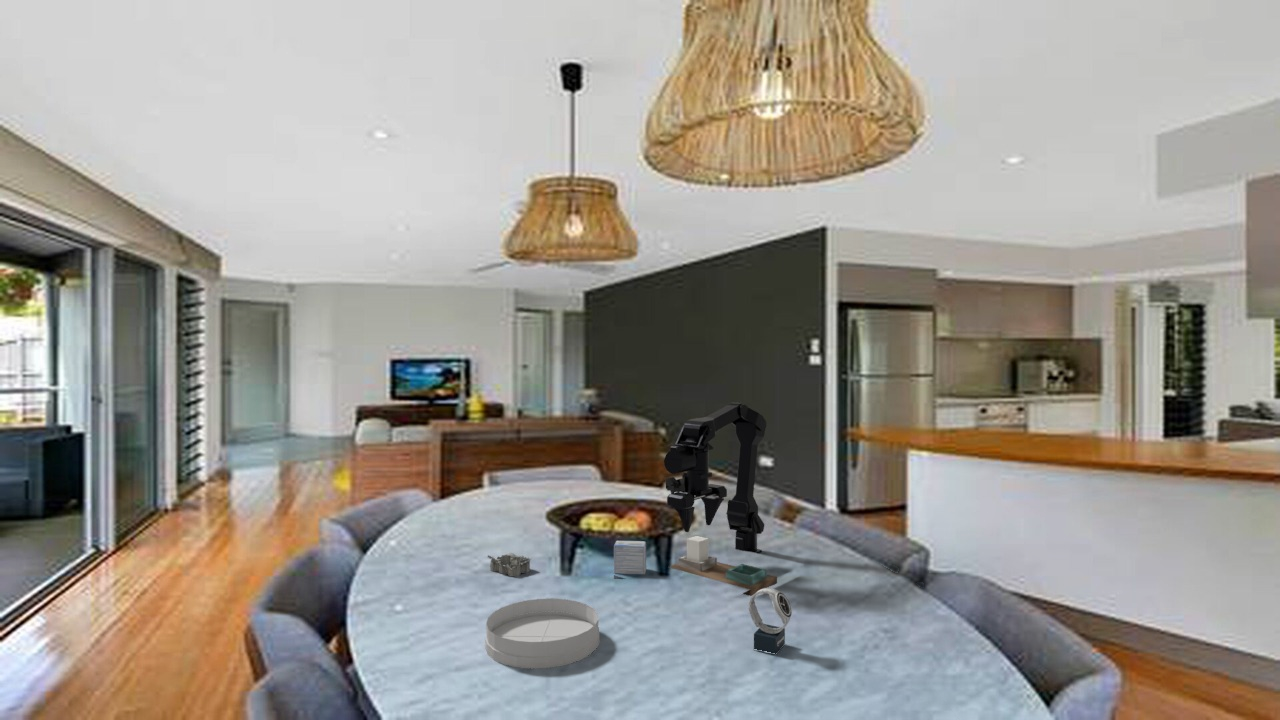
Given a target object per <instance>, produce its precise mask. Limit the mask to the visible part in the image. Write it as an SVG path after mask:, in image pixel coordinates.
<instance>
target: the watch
mask: <svg viewBox="0 0 1280 720" xmlns="http://www.w3.org/2000/svg"><path fill="white" fill-rule="evenodd" d="M759 594H760V595H761V594H768V595H769V596H768V597H769V598H770V600H771V602H772V603H771V605H772V606H773V610H774V611H775V613H776V615H777V616H778V617H779V618H780V619H781V622H782V624H783V625H782V626H775V625H771V624H765V623H763V618H762V616H761V615H760V613H759V610H758V607H757V605H756V602H755V599H756V597H757V596H758V595H759ZM750 597H751V598H750V599H749V603H748V612H749V614H750V617H751V619H752V622H753V624H754V625H755V627H756V628H758V629H757V630H756V631H755V632H754V633H753V650H754V649H757V650H762V651H767V652H771V653H775V654H776V653H777V652H778V651H779V650H780V651H781V649H782V648H783V647H784V646H785V645H784V644H786V642H785V640H786V639H785V638H786V627H787V626H788V624H789V623H790V619H791V617H792V612H793V611H792V607H791V603H790V601H789V600H788V598H787V596H786V595H785V594H784V593H783V592H781V591H779V590H777V589H774V588H772V587H771V588H770V587H768V588H763V589H760V590H759V591H757V592H756V593H755V594H753V595H751V596H750ZM783 645H784V646H783ZM782 646H783V647H782ZM781 647H782V648H781ZM780 648H781V649H780ZM780 651H779V652H780ZM779 652H778V653H779ZM778 653H777V654H778ZM777 654H776V655H777Z"/></svg>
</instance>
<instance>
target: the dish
mask: <svg viewBox="0 0 1280 720" xmlns="http://www.w3.org/2000/svg"><path fill="white" fill-rule="evenodd" d="M485 626H486V627H485V628H486V629H485V630H486V631H485V634H486V635H485V638H484V643H485V645H484V646H485V649H484V650H485V652H486V655H487V656H488V657H490V658H491V659H492V660H493V661H494V662H497V663H499V664H502V665H505V666H508V665H509V667H513V668H517V667H521V669H530V668H531V669H532V670H534V669H533V668H535V670H536V669H551V668H557V667H562V666H567V665H570V664H573V662H574V663H577V662H579V661H581V660H583V659H586V658H587V657H589V656H590V655H591V653H592V652H593V651H594V650H595V651H596V650H597V649H598V647H599V645H600V627H599V614H598V612H597V611H596V609H595V608H594V607H592V606H590V605H589V604H586V603H583V602H580V601H576V600H571V599H565V598H537V599H529V600H522V601H518V602H513V603H511V604H508V605H505V606H502V607H500V608H498V609H496V610H495V611H494V612H492V613H491V614H490V615H489V616H488V617H487V620H486V624H485ZM596 648H597V649H596ZM595 651H594V652H595ZM594 652H593V653H594ZM593 653H592V654H593ZM589 654H590V655H589ZM588 655H589V656H588ZM576 661H577V662H576ZM556 666H557V667H556ZM550 667H551V668H550Z"/></svg>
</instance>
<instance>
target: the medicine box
mask: <svg viewBox="0 0 1280 720" xmlns="http://www.w3.org/2000/svg"><path fill="white" fill-rule="evenodd" d="M646 572H647V542H646V541H641V540H640V541H639V540H616V541H615V543H614V545H613V574H620V575H621V574H623V575H624V574H625V575H627V574H628V575H646ZM613 579H615V580H626V578H624V577H622V576H619V575H613Z"/></svg>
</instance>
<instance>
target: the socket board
mask: <svg viewBox="0 0 1280 720" xmlns="http://www.w3.org/2000/svg"><path fill="white" fill-rule="evenodd" d="M717 559H718V558H717V556H712V555H708V560H705V561H702V562H696V561H692V560H688V559H687V554H685V555H684V556H681V557H678V560H677V561H678V563H675V564H672V565H669V566H670V567H669V568H670V569H673V570H677V571H681V572H685V573H688V574H693V575H695V576H698V577H699V576H700V577H704V578H707V579H711V580H714V581H717V582H720V583H721V582H722V583H725V584H728V585H731V586H737V587H740V588H743V589H746V590H747V591H745V592H742V593H743V594H742V595H746V596H749V595H750V596H749V597H752V596H753V595H754V594H755V593H756V592H757V591H759V590H760V589H763V588H767V587H768V588H770V587H772V586H774V585H775V584H778V577H777V576H774V575H770V574H768V571H767V569H764V568H761V567H757V566H752V565H750V564H749V565H747V564H743V563H741V564H739V565H731V564H728V563H723V562H719V561H718V560H717ZM769 586H770V587H769Z"/></svg>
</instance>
